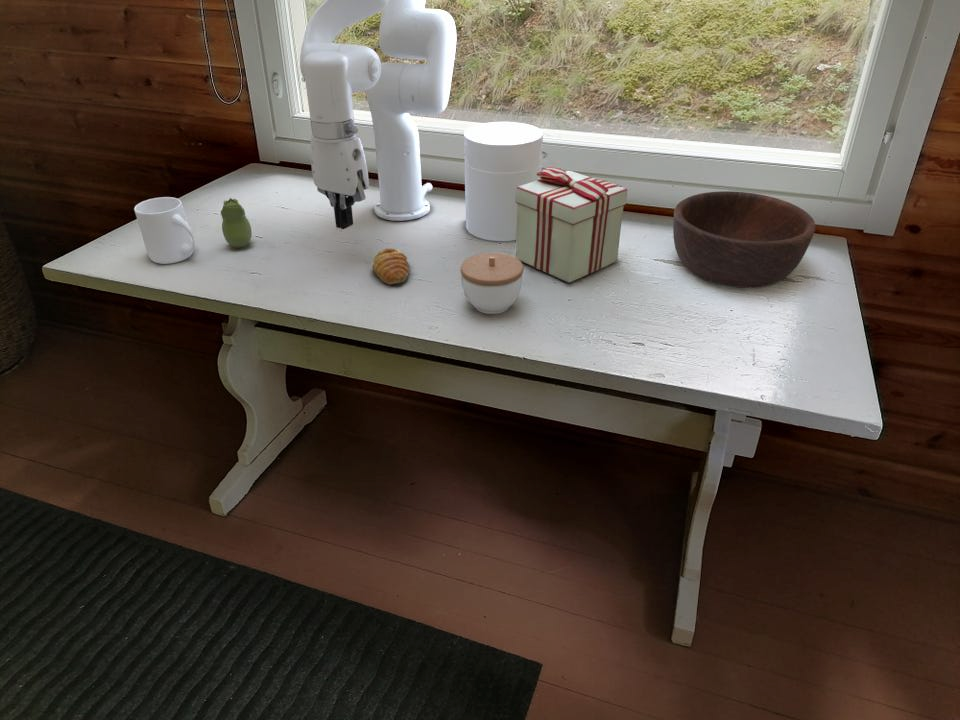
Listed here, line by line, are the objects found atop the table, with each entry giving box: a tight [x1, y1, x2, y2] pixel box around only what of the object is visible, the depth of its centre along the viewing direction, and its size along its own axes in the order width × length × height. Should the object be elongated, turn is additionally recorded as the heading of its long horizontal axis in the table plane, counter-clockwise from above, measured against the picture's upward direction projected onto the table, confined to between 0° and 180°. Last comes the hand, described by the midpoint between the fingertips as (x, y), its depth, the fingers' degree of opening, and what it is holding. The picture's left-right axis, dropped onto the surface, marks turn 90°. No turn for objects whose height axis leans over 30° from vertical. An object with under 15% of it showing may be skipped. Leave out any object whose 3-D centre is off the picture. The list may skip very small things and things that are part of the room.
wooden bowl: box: [672, 190, 816, 288], centre depth 132 cm, size 25×25×10 cm
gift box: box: [515, 166, 628, 284], centre depth 133 cm, size 17×18×17 cm
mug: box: [133, 196, 196, 265], centre depth 137 cm, size 9×12×11 cm
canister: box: [463, 121, 544, 242], centre depth 145 cm, size 16×16×20 cm
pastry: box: [372, 247, 410, 285], centre depth 131 cm, size 9×7×4 cm
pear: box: [220, 197, 253, 249], centre depth 141 cm, size 6×5×10 cm
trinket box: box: [460, 252, 524, 315], centre depth 120 cm, size 11×11×9 cm
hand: (344, 226), depth 133 cm, fingers closed
